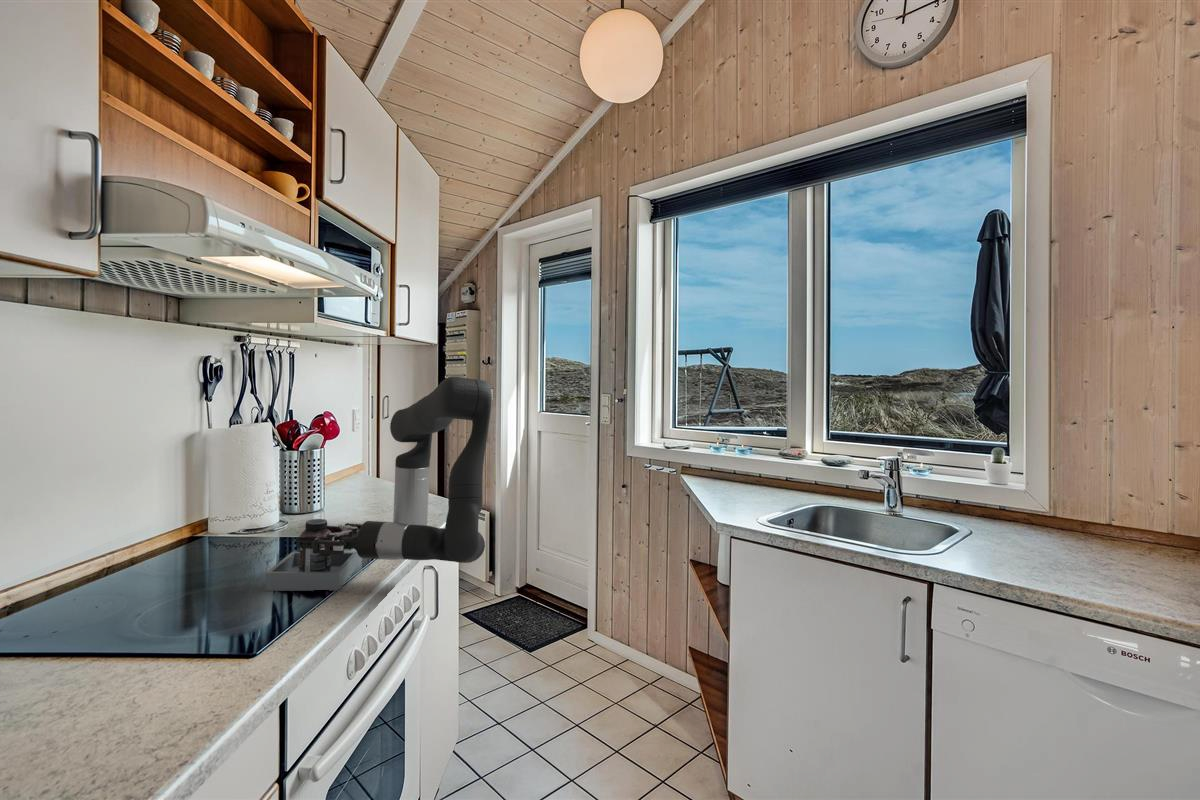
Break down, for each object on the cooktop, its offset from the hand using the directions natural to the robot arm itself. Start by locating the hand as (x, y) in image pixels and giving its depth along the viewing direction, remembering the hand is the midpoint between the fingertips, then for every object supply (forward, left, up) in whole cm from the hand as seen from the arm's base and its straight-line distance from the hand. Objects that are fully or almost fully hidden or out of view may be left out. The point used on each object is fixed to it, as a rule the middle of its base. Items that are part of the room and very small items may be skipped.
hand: (308, 536), depth 119 cm
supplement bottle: (0, +2, -8) cm, 8 cm away
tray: (0, +1, -9) cm, 9 cm away
